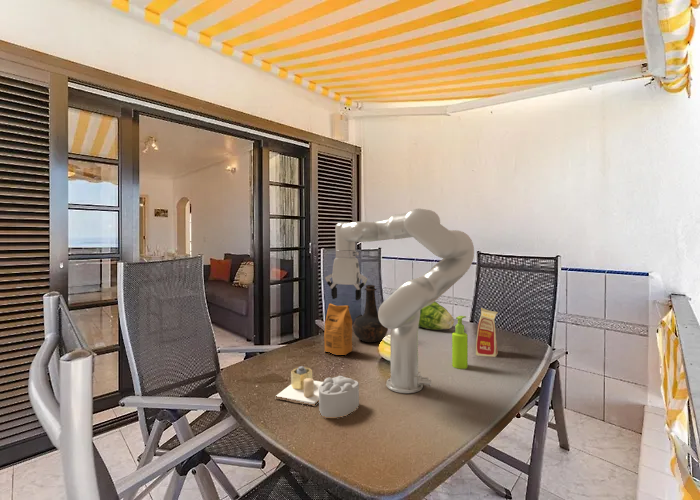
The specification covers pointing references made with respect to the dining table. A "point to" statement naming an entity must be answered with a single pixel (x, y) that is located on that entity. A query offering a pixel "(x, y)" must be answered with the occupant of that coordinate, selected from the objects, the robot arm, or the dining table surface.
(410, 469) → the dining table surface
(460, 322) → the soap dispenser
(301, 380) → the brass collar
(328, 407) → the lumpy-topped squat cylinder
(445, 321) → the lettuce
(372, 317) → the glass bottle
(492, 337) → the milk carton
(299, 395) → the post board
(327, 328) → the coffee package
